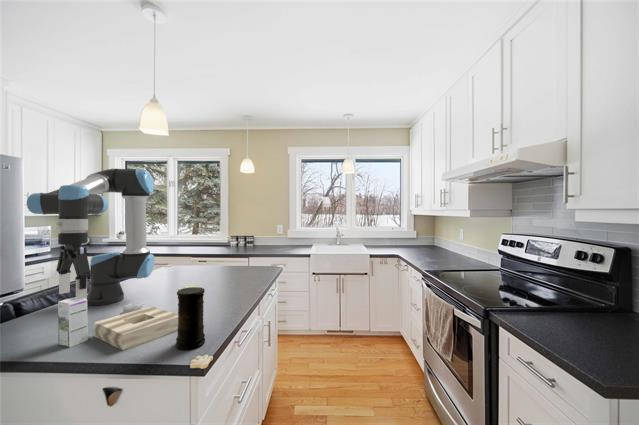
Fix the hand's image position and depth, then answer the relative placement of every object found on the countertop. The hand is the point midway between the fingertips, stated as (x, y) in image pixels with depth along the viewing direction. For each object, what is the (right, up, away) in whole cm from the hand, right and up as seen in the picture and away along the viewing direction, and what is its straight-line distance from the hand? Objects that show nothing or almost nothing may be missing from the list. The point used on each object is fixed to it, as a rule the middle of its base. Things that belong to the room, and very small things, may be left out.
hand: (72, 296), depth 96 cm
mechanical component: (+3, -16, +27) cm, 31 cm away
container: (+39, -16, 0) cm, 42 cm away
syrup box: (0, -16, 0) cm, 16 cm away
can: (+27, -16, +27) cm, 41 cm away
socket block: (+17, -16, +9) cm, 25 cm away
